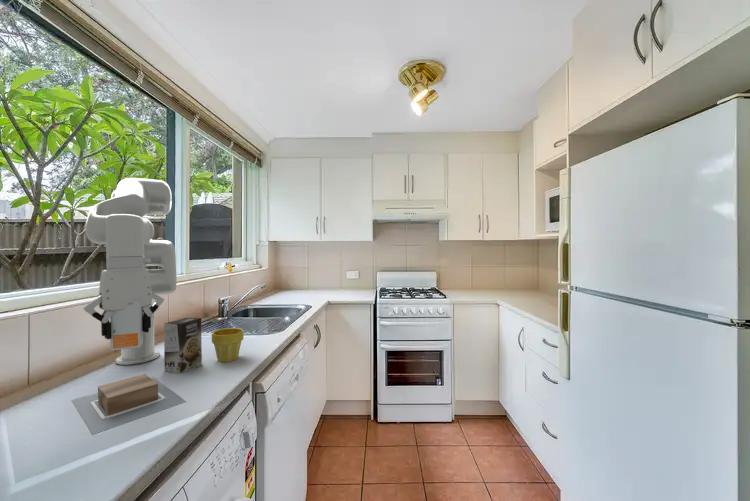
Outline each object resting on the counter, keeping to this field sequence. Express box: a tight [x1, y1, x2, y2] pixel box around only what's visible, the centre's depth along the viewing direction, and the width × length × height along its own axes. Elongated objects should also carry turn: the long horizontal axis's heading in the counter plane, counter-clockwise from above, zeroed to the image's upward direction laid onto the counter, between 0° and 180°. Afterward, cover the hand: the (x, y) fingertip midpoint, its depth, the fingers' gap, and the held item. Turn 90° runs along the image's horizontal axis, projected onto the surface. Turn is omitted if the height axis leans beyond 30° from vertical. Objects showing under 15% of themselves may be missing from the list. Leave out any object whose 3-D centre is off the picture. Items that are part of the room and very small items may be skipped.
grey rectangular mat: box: [70, 376, 187, 436], centre depth 81 cm, size 24×18×1 cm
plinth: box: [97, 373, 158, 416], centre depth 81 cm, size 10×10×4 cm
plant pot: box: [211, 327, 245, 363], centre depth 114 cm, size 10×10×10 cm
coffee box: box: [163, 317, 203, 374], centre depth 104 cm, size 9×6×16 cm
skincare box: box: [109, 300, 143, 352], centre depth 81 cm, size 6×4×12 cm
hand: (127, 334), depth 81 cm, fingers closed on skincare box, 7 cm apart
